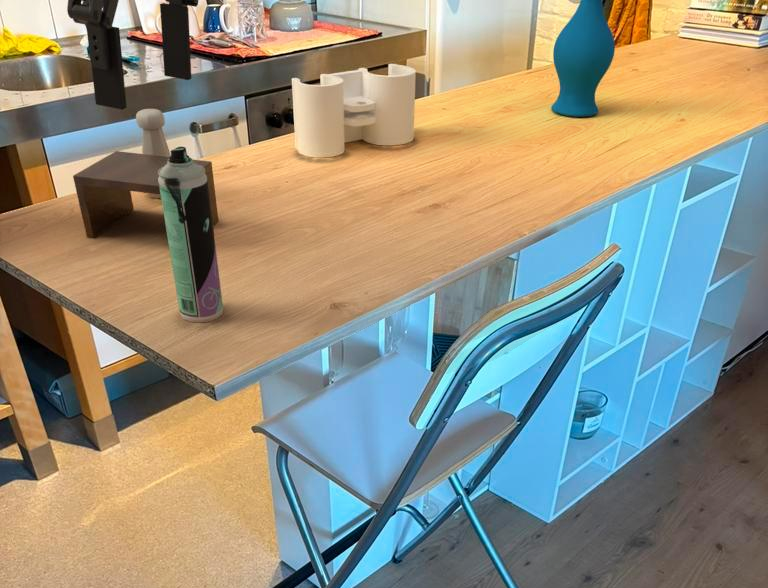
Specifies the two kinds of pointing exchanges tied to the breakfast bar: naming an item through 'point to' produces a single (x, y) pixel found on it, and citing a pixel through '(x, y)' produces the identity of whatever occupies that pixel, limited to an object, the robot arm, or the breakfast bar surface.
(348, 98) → the bracket
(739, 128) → the breakfast bar surface
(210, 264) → the spray can
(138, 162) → the shelf
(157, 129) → the salt shaker
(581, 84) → the vase
